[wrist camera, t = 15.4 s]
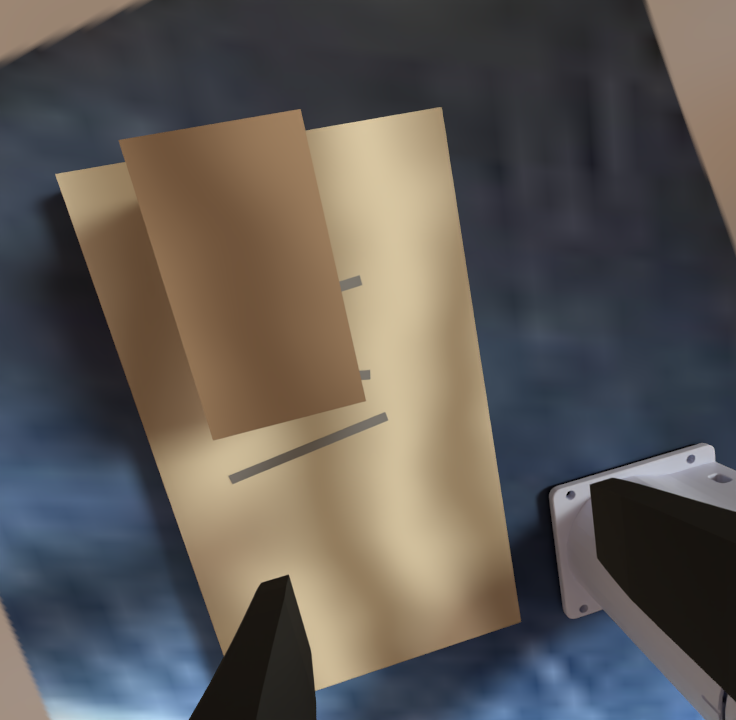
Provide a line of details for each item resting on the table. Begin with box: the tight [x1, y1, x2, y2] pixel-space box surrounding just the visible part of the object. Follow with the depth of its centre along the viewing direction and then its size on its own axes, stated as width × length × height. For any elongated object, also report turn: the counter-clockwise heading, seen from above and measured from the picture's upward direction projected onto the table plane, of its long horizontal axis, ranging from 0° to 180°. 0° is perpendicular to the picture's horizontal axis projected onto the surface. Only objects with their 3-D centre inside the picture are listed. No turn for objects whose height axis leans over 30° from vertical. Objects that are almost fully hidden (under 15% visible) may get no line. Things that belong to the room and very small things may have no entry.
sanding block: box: [119, 109, 366, 441], centre depth 14 cm, size 4×8×5 cm, turn 12°
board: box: [55, 107, 521, 691], centre depth 19 cm, size 14×24×2 cm, turn 12°
